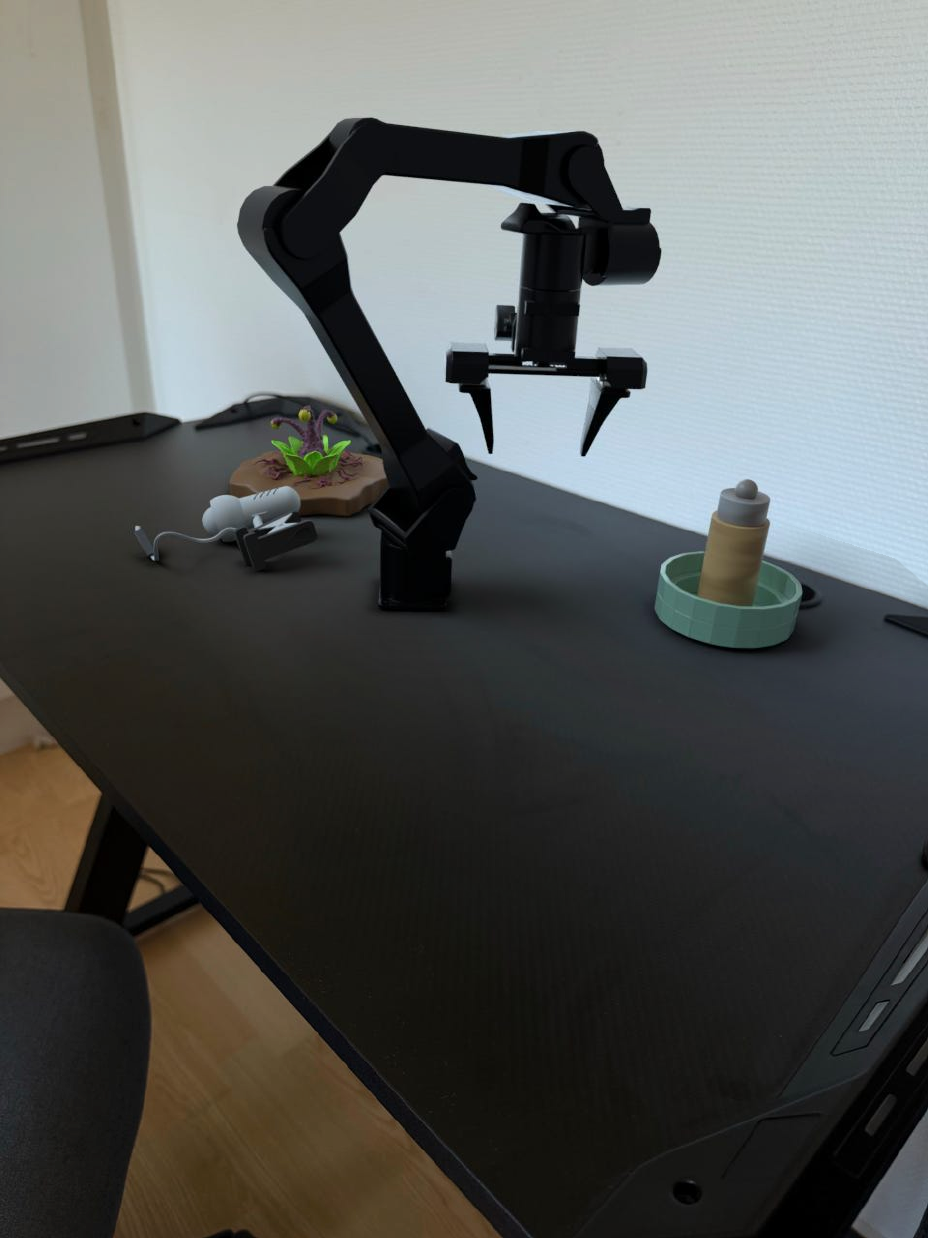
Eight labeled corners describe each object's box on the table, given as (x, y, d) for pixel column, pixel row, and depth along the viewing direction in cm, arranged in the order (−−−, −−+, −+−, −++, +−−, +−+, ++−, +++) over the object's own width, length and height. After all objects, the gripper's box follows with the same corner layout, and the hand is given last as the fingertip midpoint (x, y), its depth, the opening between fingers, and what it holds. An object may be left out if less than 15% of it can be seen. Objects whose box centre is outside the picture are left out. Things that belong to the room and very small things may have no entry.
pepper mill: (720, 632, 83) (748, 492, 77) (683, 609, 87) (706, 474, 81) (760, 621, 86) (791, 484, 79) (722, 600, 90) (748, 468, 83)
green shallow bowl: (673, 652, 80) (681, 607, 78) (640, 590, 92) (646, 549, 90) (813, 654, 81) (825, 610, 79) (764, 592, 93) (772, 552, 91)
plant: (206, 507, 108) (197, 414, 102) (264, 460, 125) (259, 379, 120) (367, 524, 105) (367, 430, 100) (404, 473, 122) (405, 391, 117)
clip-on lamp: (151, 607, 90) (323, 555, 94) (129, 554, 86) (309, 502, 90) (146, 552, 99) (302, 507, 103) (125, 502, 96) (288, 457, 99)
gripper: (632, 280, 89) (613, 434, 96) (445, 273, 88) (440, 429, 95) (659, 295, 79) (636, 466, 86) (448, 287, 78) (443, 461, 85)
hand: (536, 454), depth 88 cm, fingers open, 9 cm apart
